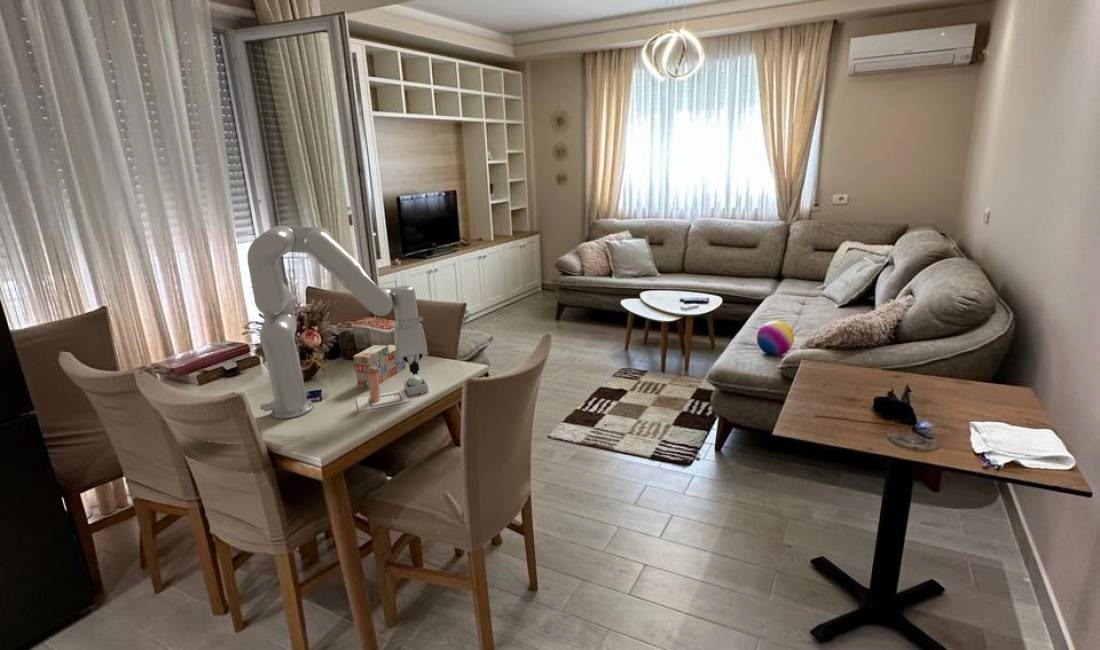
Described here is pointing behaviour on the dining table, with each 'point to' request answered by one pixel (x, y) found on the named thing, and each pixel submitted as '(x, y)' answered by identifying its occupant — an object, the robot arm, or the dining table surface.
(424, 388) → the button housing
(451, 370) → the dining table surface
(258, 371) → the dining table surface
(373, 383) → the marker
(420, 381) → the button
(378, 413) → the dining table surface
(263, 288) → the robot arm
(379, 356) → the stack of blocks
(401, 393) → the sheet
